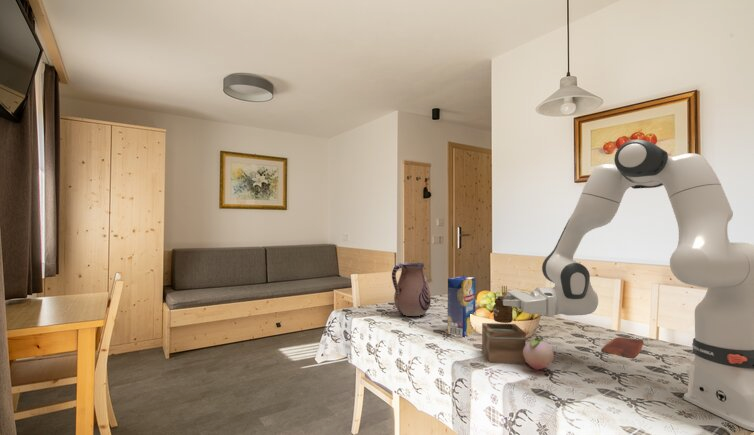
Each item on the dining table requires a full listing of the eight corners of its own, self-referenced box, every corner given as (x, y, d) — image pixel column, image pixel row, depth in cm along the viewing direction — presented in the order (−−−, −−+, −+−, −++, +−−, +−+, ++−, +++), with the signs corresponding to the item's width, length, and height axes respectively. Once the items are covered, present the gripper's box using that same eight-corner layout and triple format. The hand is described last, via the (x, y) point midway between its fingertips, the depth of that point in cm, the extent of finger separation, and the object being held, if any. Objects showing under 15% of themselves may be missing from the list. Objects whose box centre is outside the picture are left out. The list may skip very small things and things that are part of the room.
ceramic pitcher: (437, 315, 181) (438, 263, 181) (410, 323, 165) (411, 266, 166) (409, 309, 193) (409, 261, 193) (381, 316, 177) (382, 263, 178)
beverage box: (475, 331, 152) (475, 277, 153) (463, 337, 143) (463, 280, 144) (460, 328, 156) (460, 276, 157) (447, 334, 148) (447, 278, 148)
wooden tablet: (634, 361, 121) (634, 356, 121) (599, 353, 128) (599, 349, 128) (647, 343, 141) (647, 338, 141) (616, 337, 147) (616, 333, 147)
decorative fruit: (552, 378, 105) (552, 342, 105) (521, 372, 109) (521, 338, 109) (554, 367, 113) (554, 334, 113) (526, 362, 117) (525, 330, 117)
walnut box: (525, 363, 116) (525, 332, 117) (489, 362, 117) (489, 331, 117) (514, 351, 127) (514, 323, 128) (482, 350, 128) (482, 323, 128)
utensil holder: (510, 319, 125) (510, 283, 125) (514, 324, 119) (514, 286, 119) (492, 318, 126) (492, 282, 126) (494, 323, 120) (494, 285, 120)
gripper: (532, 286, 132) (492, 285, 133) (555, 297, 112) (508, 296, 113) (532, 304, 132) (492, 303, 133) (555, 318, 112) (508, 317, 113)
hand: (500, 300), depth 123 cm, fingers closed on utensil holder, 5 cm apart
